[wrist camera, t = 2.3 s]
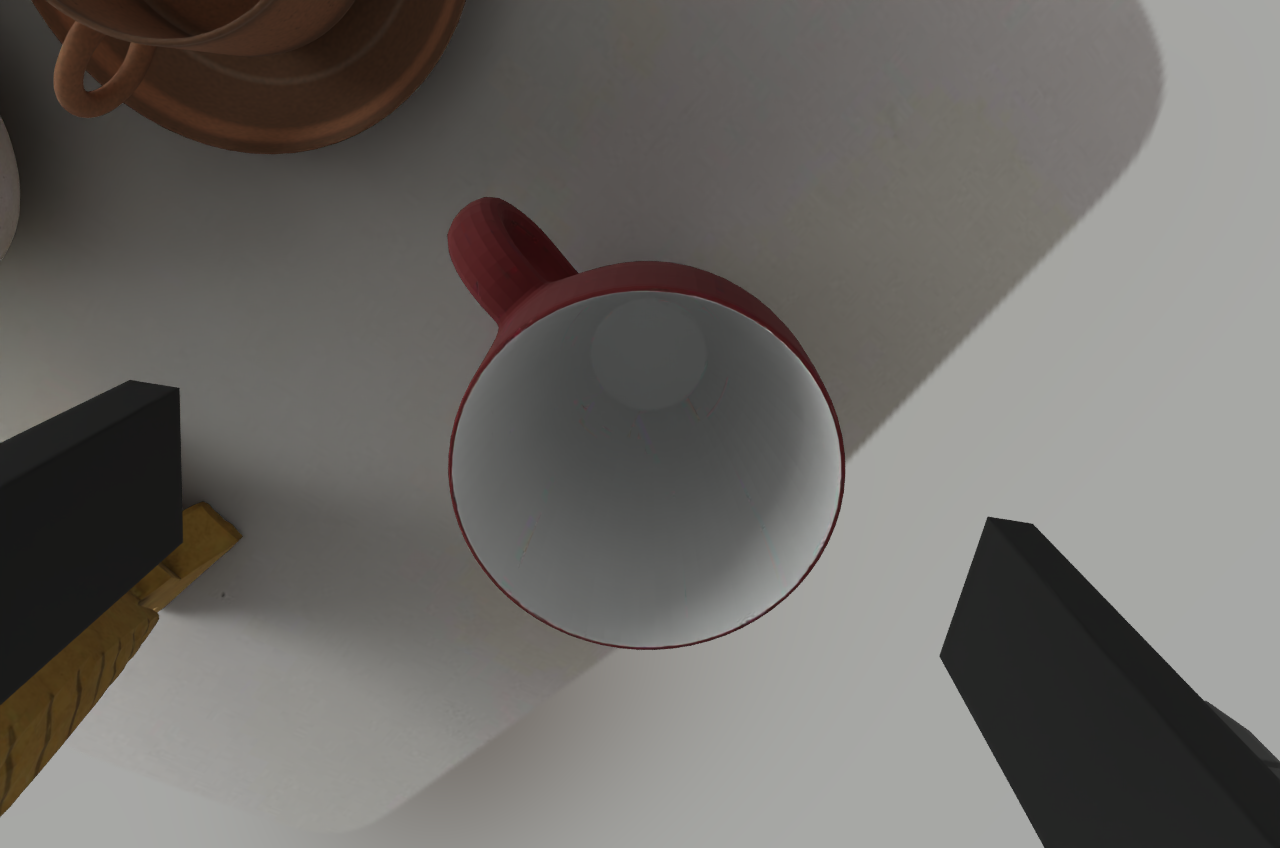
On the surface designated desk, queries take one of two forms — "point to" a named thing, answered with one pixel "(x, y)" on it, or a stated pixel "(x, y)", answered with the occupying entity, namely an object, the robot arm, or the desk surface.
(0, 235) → the decorative stone
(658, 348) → the mug
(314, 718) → the desk surface
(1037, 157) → the desk surface
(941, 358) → the desk surface
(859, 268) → the desk surface
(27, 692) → the figurine
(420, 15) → the cup and saucer
